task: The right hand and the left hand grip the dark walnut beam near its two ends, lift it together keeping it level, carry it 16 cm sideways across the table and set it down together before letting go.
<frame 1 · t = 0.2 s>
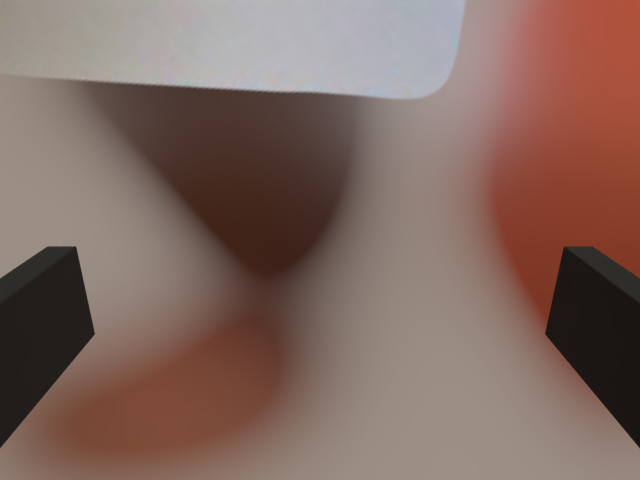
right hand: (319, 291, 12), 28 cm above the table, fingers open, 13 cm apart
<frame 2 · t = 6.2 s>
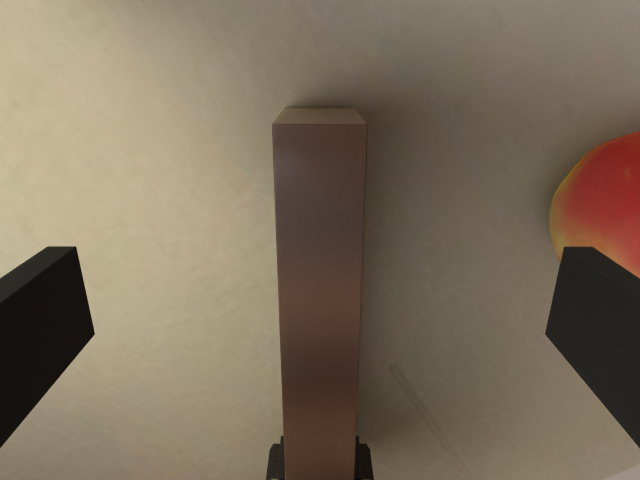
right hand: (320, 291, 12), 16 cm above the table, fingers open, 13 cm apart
apple: (597, 192, 28), on the table
walnut beam: (319, 306, 30), on the table, touching left hand
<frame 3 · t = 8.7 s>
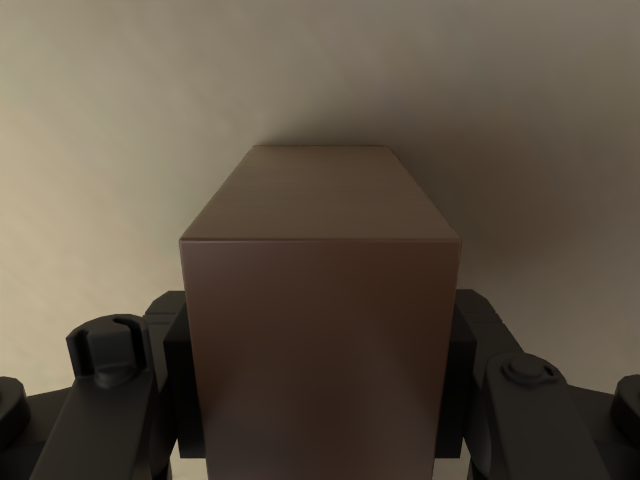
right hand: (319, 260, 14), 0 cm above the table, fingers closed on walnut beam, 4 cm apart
walnut beam: (320, 472, 18), on the table, touching right hand, left hand
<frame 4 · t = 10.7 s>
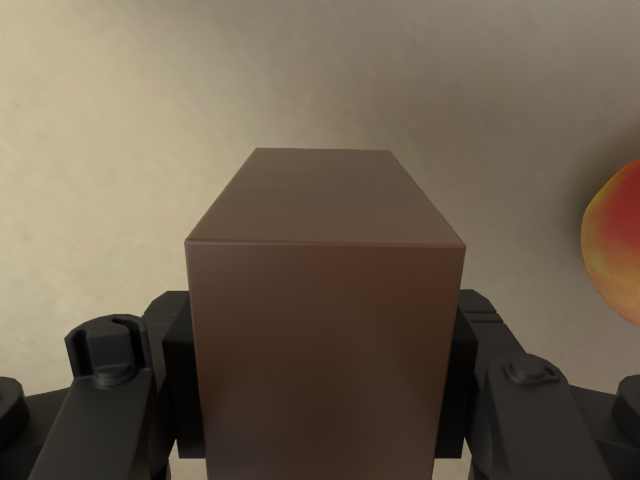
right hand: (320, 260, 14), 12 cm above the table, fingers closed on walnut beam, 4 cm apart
apple: (628, 206, 26), on the table
walnut beam: (316, 474, 18), point 12 cm above the table, touching right hand, left hand
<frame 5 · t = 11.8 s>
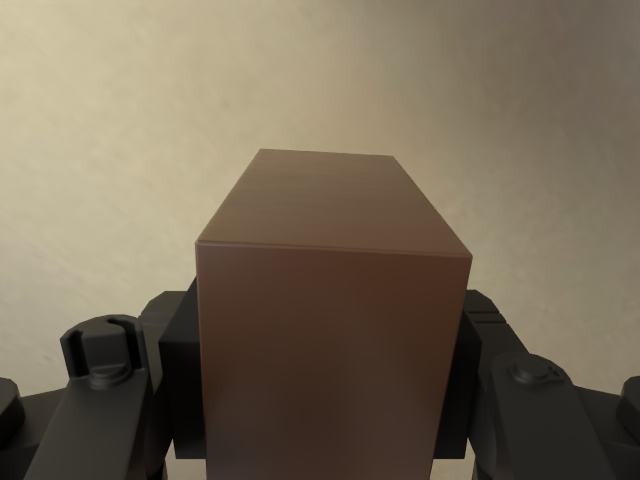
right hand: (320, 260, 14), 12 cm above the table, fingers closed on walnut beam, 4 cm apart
walnut beam: (307, 475, 18), point 12 cm above the table, touching right hand, left hand
when the right hand's fingers open (1 cm above the table, at t = 15.2 s): walnut beam stays where it is, on the table.
when the left hand's fingers open (4 cm above the table, at t = 15.4 s): walnut beam stays where it is, on the table.
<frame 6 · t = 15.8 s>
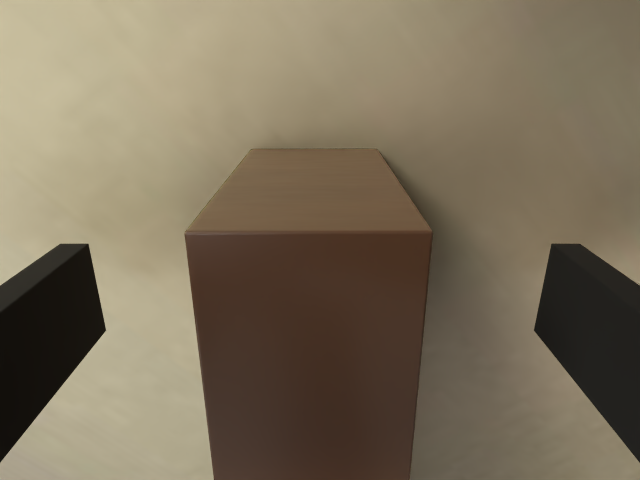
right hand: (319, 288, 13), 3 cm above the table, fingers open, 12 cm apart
walnut beam: (316, 459, 19), on the table
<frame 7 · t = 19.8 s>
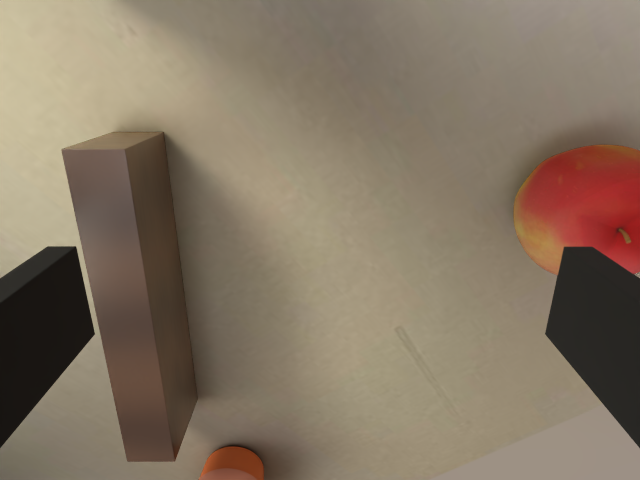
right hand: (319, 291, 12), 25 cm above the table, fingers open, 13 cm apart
apple: (552, 192, 37), on the table
cup with straw: (235, 465, 48), on the table
walnut beam: (160, 281, 40), on the table
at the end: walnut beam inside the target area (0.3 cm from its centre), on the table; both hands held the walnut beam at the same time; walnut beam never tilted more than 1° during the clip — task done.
